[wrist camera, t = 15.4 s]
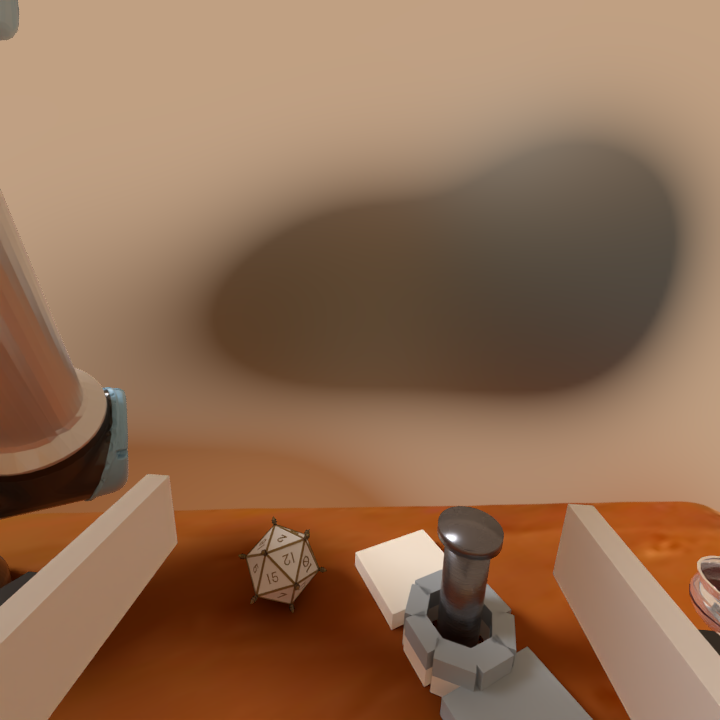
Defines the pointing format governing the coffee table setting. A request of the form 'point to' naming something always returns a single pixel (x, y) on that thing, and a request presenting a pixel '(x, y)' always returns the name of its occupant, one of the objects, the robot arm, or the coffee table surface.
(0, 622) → the robot arm
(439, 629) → the pin
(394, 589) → the hinge leaf
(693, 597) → the wineglass
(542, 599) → the coffee table surface
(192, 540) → the coffee table surface
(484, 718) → the hinge leaf
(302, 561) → the game die
